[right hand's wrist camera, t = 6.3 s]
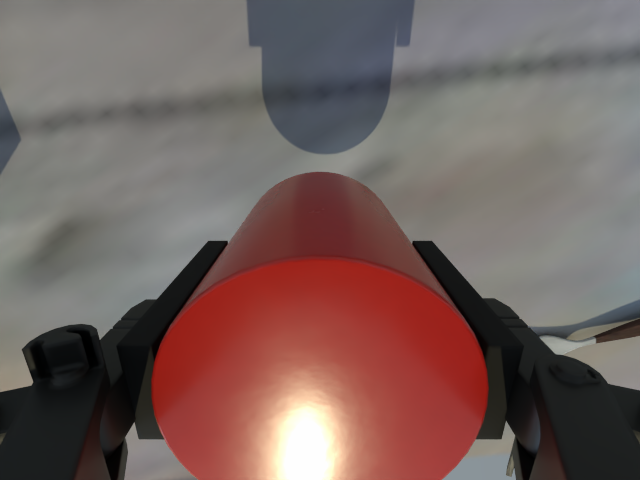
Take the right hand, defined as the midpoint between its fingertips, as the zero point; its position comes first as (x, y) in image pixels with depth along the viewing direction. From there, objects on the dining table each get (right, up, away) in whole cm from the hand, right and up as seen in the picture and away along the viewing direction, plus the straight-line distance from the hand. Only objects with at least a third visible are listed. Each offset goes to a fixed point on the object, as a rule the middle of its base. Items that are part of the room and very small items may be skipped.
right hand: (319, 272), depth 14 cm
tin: (0, +1, +3) cm, 3 cm away
